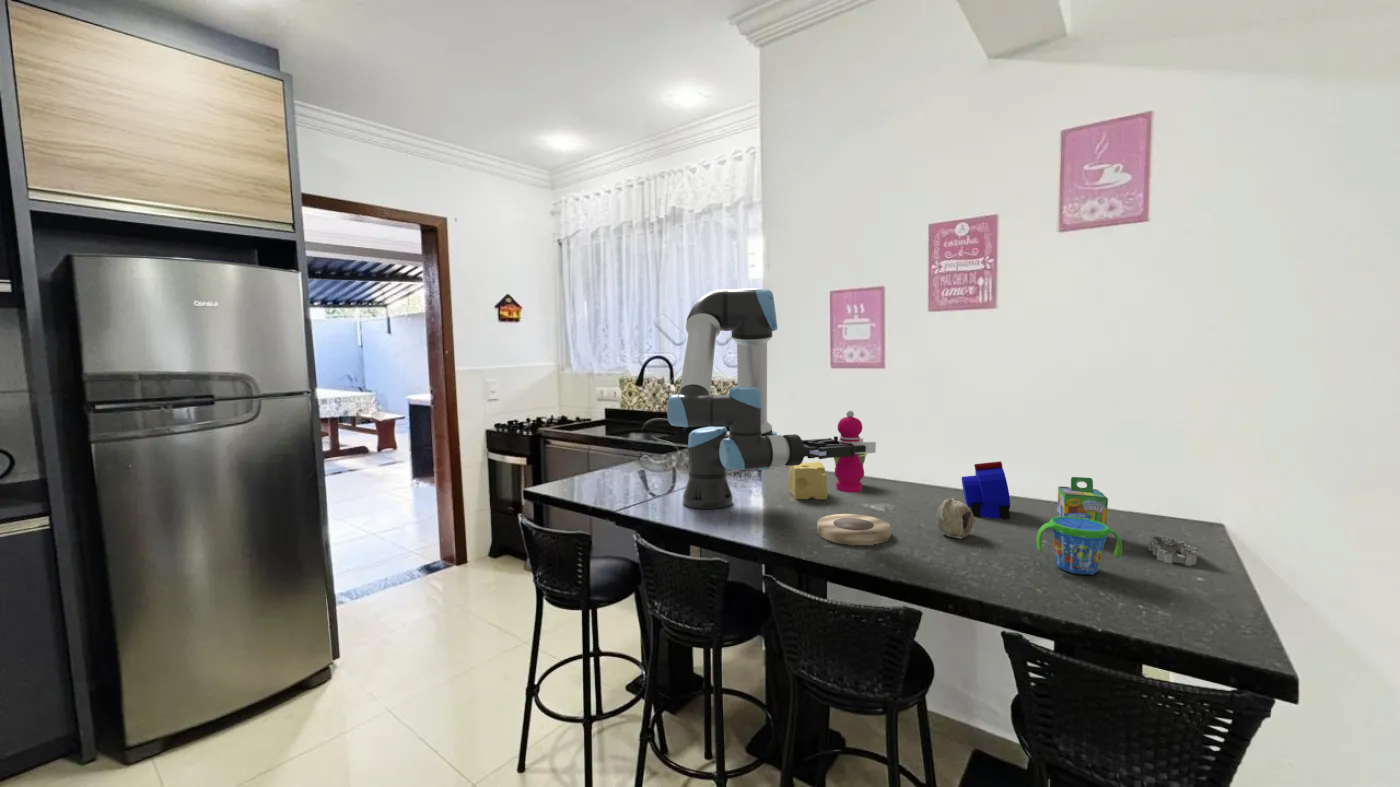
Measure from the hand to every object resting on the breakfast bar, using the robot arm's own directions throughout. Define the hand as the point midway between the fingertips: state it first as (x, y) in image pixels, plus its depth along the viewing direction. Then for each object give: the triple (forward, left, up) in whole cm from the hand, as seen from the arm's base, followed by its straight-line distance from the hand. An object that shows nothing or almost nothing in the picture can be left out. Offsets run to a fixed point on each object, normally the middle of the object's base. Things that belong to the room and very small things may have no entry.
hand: (868, 445), depth 148 cm
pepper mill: (0, -5, -11) cm, 12 cm away
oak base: (-1, -3, -23) cm, 23 cm away
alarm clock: (-6, +43, -23) cm, 49 cm away
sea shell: (+8, +21, -23) cm, 32 cm away
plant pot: (-47, +24, -23) cm, 58 cm away
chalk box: (+19, +49, -23) cm, 57 cm away
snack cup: (+35, +29, -23) cm, 51 cm away
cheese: (-39, +4, -23) cm, 46 cm away
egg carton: (+36, +55, -23) cm, 70 cm away
